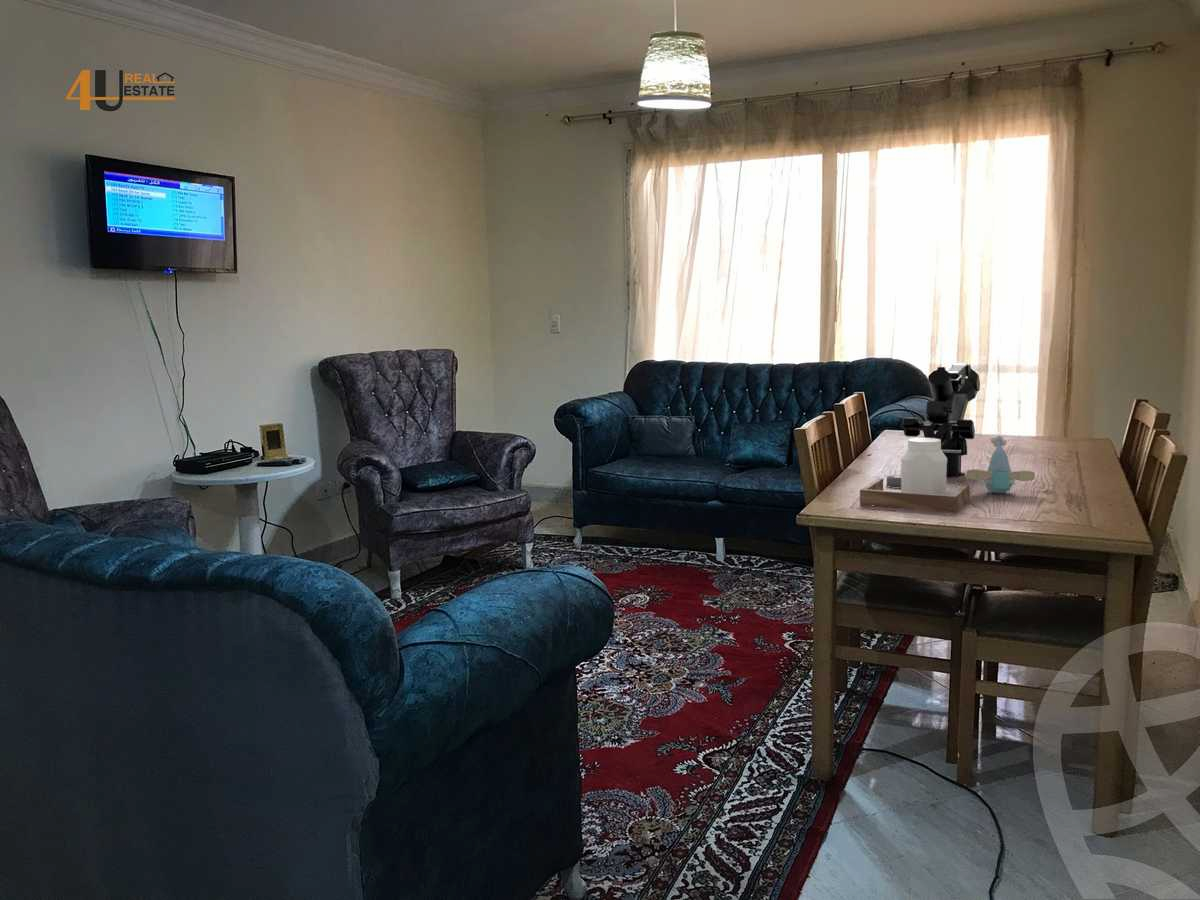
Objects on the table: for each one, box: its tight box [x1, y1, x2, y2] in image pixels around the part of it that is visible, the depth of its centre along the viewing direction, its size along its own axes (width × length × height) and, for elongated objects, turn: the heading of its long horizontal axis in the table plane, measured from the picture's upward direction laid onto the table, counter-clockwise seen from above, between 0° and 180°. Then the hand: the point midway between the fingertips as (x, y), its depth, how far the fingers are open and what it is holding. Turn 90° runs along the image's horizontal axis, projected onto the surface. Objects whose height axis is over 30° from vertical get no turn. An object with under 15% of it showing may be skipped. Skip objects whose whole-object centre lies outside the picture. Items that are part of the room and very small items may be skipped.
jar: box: [900, 437, 947, 495], centre depth 251 cm, size 12×10×15 cm
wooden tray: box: [859, 477, 971, 514], centre depth 244 cm, size 18×23×4 cm
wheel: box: [886, 474, 901, 488], centre depth 266 cm, size 6×6×3 cm
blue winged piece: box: [965, 434, 1036, 494], centre depth 251 cm, size 17×10×15 cm, turn 71°
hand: (932, 452), depth 259 cm, fingers closed
